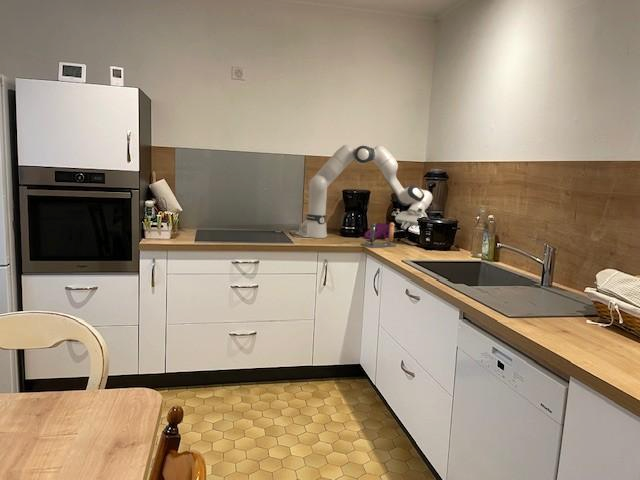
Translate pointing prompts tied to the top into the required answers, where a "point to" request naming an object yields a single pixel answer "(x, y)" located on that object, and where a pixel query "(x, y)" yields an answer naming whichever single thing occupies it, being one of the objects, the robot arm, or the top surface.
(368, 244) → the hole plate
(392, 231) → the sliding leg
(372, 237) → the fixed leg
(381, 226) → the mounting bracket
